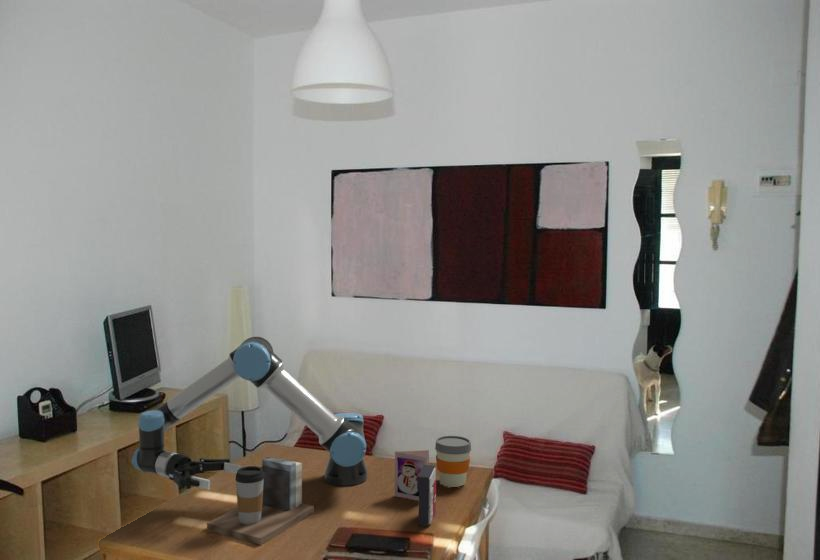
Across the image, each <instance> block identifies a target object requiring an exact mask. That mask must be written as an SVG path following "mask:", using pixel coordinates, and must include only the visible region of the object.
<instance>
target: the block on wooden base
mask: <svg viewBox="0 0 820 560" xmlns="http://www.w3.org/2000/svg"><path fill="white" fill-rule="evenodd" d="M261 461H262V463H261V465H262V466H261V468H262V469H263V472H264V476H265V478H264V483H263V502H262V512H261V519H260V521H259V522H258V523H255V524H251V525H246V524H242V523H240V521H239V513H238V506H237V507H235V508H233V509H231V510H230V511H228V512H226V513H225V512H224V514H221V515H220V516H218V517H216V518H214V519H212V520H210V521H208V522H206V530H207V531H210V532H213V533H216V534H220V535H224V536H227V537H231V538H234V539H237V540H241V541H244V542H248V543H250V544H255V545H258V546H263V545H264V544H266V543H268V542H269V541H271V540H272V539H274V538H276V537H277V536H279V535H280V534H282V533H283V532H286V531H287V530H288V529H291V528H292V527H293V526H295V525H297V524H298V523H299V522H301V521H303V520H304V518H305V519H307V518H308V517H310V516H311V515H312V513H313V512H314V513H315V506H314V505H310V504H306V503H303V462H298V461H293V460H289V459H285V458H280V457H275V458H274V457H269V456H266V457H264V458H262V459H261ZM314 513H313V514H314ZM310 514H311V515H310ZM307 516H308V517H307ZM291 526H292V527H291Z"/></svg>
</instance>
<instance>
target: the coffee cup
mask: <svg viewBox="0 0 820 560" xmlns="http://www.w3.org/2000/svg"><path fill="white" fill-rule="evenodd" d="M261 467H262V466H261ZM261 467H260V466H258V465H257V466H256V465H255V466H254V465H251V466H249V465H248V466H242V468H240V469H238V471H237V474H235V479H234V480H235V483H236V484H235V485H236V502H237V503H236V504H237V507H238V513H239V521H240V523H242V524H246V525H251V524H255V523H258V522H259V521H260V519H261V512H262V502H263V483H264V478H265V476H264V472H263V469H262V468H261Z"/></svg>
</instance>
